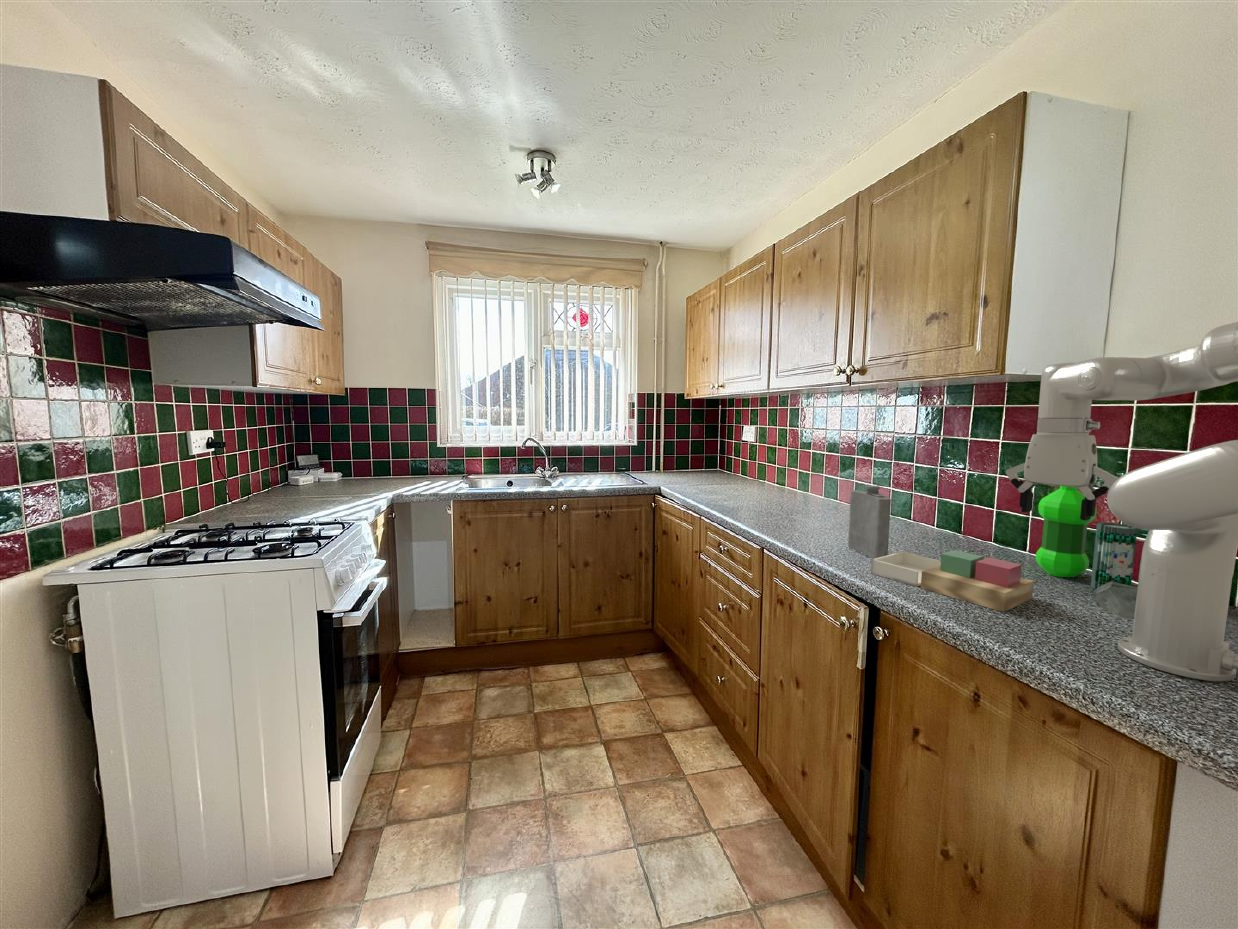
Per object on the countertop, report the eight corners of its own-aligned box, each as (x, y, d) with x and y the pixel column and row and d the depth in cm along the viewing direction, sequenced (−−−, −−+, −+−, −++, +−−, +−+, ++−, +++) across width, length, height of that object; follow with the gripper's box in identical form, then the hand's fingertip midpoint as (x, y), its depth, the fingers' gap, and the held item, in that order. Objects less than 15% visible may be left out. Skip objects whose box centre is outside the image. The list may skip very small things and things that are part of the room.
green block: (982, 573, 109) (983, 556, 109) (969, 578, 106) (971, 560, 106) (953, 566, 114) (954, 550, 114) (940, 570, 111) (941, 553, 111)
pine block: (1032, 598, 105) (1033, 580, 105) (1003, 612, 98) (1005, 593, 97) (951, 577, 119) (952, 561, 118) (920, 587, 111) (921, 571, 111)
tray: (946, 576, 119) (947, 562, 119) (916, 586, 112) (917, 571, 112) (901, 564, 129) (902, 551, 128) (870, 573, 122) (871, 559, 121)
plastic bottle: (1091, 584, 114) (1102, 479, 111) (1032, 575, 121) (1041, 475, 118) (1087, 574, 121) (1097, 475, 119) (1032, 565, 128) (1041, 472, 126)
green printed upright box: (1098, 592, 109) (1105, 527, 107) (1086, 583, 114) (1092, 521, 113) (1135, 596, 106) (1142, 529, 105) (1120, 587, 112) (1127, 524, 110)
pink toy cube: (1020, 582, 103) (1021, 564, 103) (1007, 587, 100) (1009, 569, 100) (987, 574, 108) (988, 557, 108) (974, 579, 105) (976, 561, 105)
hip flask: (845, 547, 146) (849, 481, 144) (858, 547, 146) (861, 481, 144) (878, 563, 130) (882, 490, 128) (892, 563, 130) (897, 489, 128)
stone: (1186, 628, 93) (1146, 595, 102) (1191, 612, 92) (1150, 580, 101) (1118, 627, 96) (1085, 595, 105) (1122, 611, 94) (1088, 580, 103)
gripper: (1132, 428, 88) (1122, 521, 90) (1016, 426, 103) (1010, 506, 105) (1118, 428, 85) (1109, 526, 86) (1000, 427, 99) (994, 510, 101)
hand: (1054, 515), depth 96 cm, fingers open, 8 cm apart
